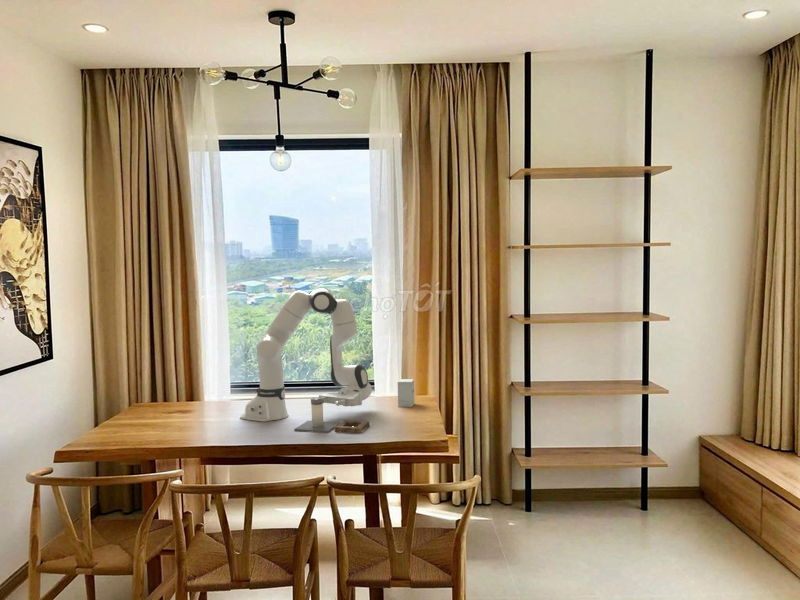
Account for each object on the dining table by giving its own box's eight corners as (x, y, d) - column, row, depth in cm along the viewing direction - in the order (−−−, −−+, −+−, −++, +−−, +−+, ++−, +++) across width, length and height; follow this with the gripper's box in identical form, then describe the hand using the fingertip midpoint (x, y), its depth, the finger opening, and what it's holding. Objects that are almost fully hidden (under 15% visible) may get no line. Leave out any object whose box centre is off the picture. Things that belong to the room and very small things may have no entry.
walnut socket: (334, 431, 272) (334, 427, 272) (345, 424, 283) (344, 420, 283) (360, 433, 268) (360, 428, 268) (369, 426, 279) (369, 421, 279)
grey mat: (294, 430, 275) (294, 428, 275) (308, 422, 288) (308, 420, 288) (328, 432, 270) (328, 431, 270) (340, 424, 284) (340, 422, 284)
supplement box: (412, 407, 312) (411, 381, 311) (397, 406, 313) (397, 381, 312) (415, 403, 319) (414, 378, 318) (400, 403, 321) (400, 378, 320)
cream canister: (309, 426, 278) (308, 400, 277) (314, 423, 282) (313, 397, 282) (320, 427, 276) (319, 400, 275) (325, 424, 281) (324, 397, 280)
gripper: (329, 387, 302) (310, 393, 291) (364, 391, 291) (346, 397, 280) (329, 400, 303) (311, 407, 291) (364, 405, 292) (346, 412, 280)
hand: (328, 402), depth 285 cm, fingers open, 8 cm apart
